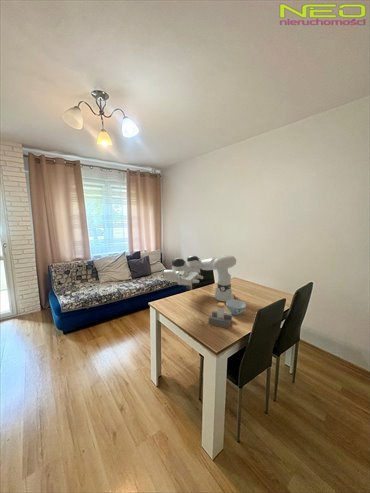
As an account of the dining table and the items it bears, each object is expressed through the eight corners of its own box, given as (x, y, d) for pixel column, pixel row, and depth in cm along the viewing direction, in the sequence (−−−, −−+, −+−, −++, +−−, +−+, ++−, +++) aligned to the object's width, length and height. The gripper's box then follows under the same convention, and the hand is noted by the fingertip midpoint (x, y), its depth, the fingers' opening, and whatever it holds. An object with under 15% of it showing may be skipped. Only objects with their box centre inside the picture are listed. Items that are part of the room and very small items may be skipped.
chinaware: (236, 320, 145) (237, 309, 144) (221, 311, 157) (222, 302, 156) (249, 314, 154) (250, 304, 152) (234, 307, 166) (234, 298, 164)
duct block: (212, 316, 150) (213, 310, 149) (231, 320, 145) (232, 314, 144) (208, 324, 139) (208, 318, 138) (228, 328, 133) (229, 322, 133)
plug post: (218, 318, 144) (219, 302, 142) (223, 319, 142) (224, 303, 141) (216, 320, 140) (217, 304, 138) (222, 322, 139) (223, 305, 137)
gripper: (187, 277, 158) (204, 279, 153) (177, 285, 139) (196, 288, 134) (188, 269, 157) (205, 271, 152) (177, 276, 138) (196, 279, 133)
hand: (201, 279), depth 143 cm, fingers open, 8 cm apart
